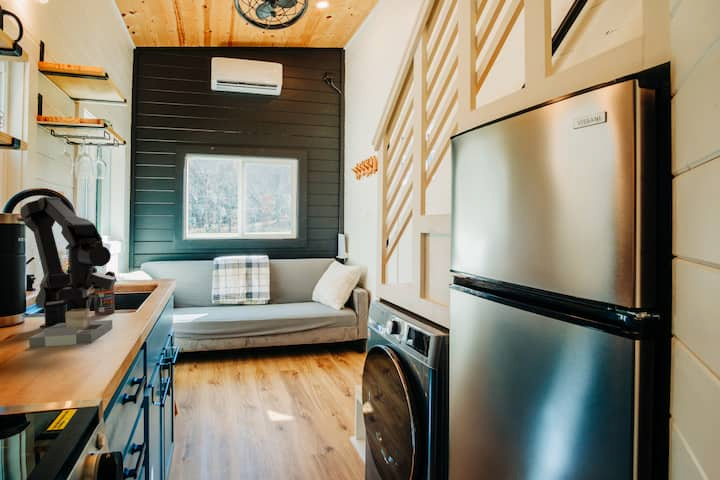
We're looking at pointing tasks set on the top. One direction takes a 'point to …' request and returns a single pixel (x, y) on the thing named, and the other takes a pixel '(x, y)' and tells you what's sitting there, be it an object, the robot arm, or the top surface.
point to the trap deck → (70, 334)
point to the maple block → (78, 317)
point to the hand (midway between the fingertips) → (84, 318)
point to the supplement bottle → (104, 301)
